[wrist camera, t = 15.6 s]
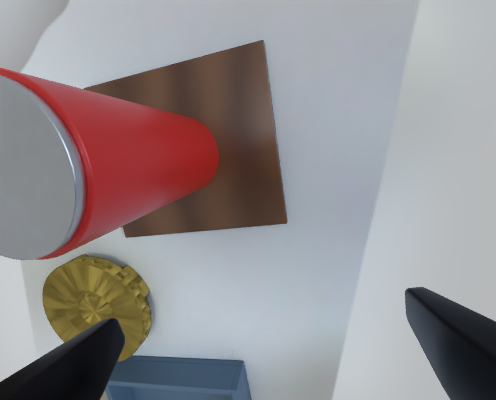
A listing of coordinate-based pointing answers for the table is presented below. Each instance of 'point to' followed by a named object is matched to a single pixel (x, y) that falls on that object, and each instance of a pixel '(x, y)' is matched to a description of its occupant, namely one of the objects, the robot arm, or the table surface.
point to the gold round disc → (97, 300)
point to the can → (88, 164)
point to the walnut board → (216, 139)
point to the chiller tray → (177, 379)
